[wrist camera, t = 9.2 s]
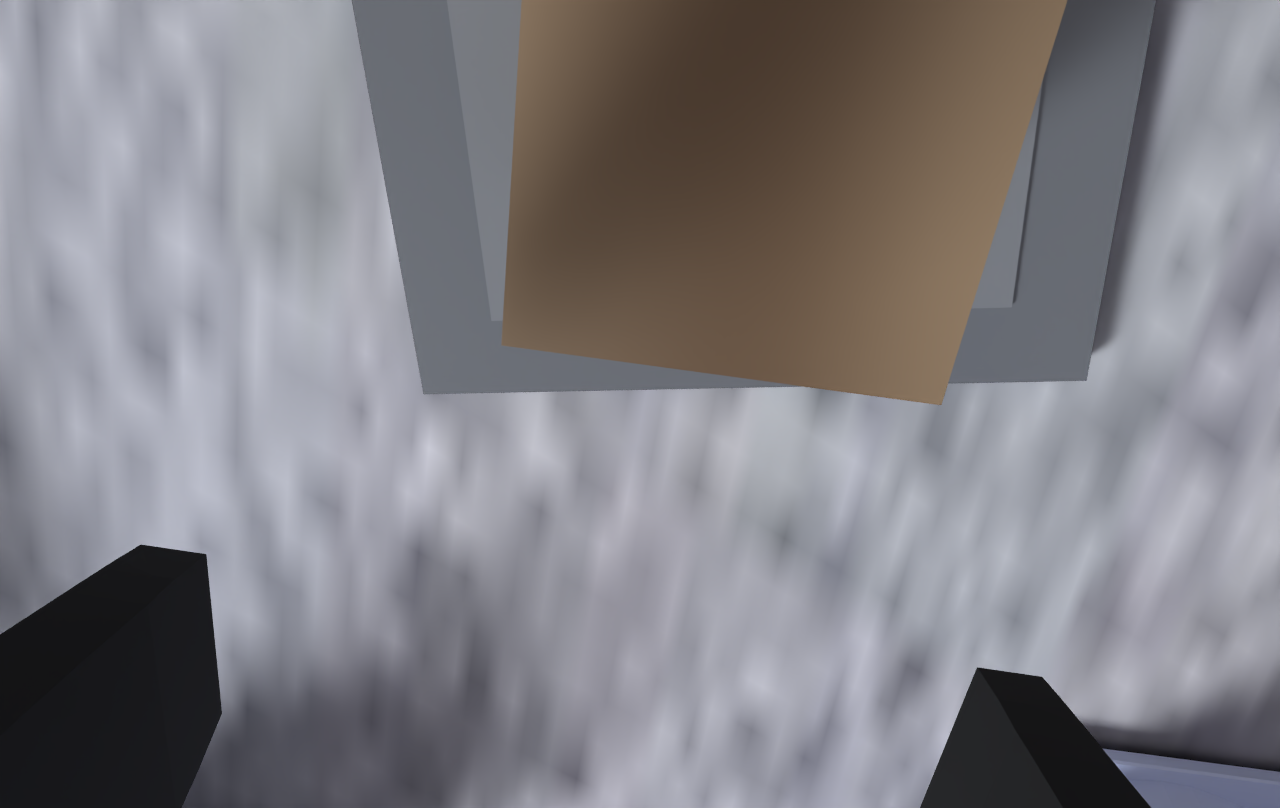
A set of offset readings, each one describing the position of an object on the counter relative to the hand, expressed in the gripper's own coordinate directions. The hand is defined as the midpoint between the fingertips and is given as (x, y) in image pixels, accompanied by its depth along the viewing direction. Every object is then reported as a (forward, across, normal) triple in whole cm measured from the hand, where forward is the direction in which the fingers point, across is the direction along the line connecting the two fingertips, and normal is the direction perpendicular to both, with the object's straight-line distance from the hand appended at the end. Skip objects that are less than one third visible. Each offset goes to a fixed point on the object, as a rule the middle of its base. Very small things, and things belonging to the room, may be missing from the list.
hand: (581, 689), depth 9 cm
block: (+9, -1, -4) cm, 10 cm away
